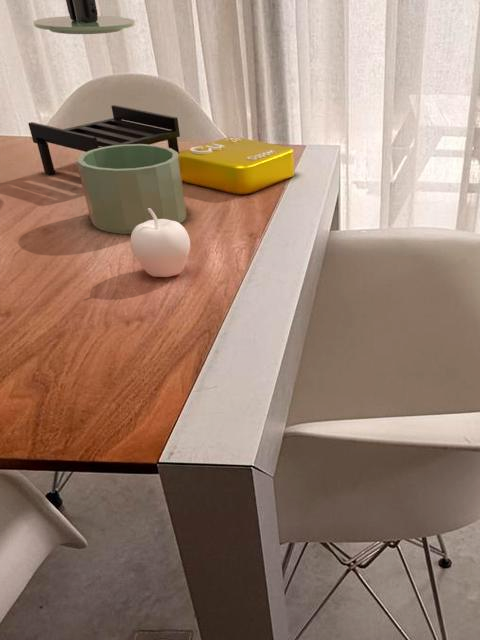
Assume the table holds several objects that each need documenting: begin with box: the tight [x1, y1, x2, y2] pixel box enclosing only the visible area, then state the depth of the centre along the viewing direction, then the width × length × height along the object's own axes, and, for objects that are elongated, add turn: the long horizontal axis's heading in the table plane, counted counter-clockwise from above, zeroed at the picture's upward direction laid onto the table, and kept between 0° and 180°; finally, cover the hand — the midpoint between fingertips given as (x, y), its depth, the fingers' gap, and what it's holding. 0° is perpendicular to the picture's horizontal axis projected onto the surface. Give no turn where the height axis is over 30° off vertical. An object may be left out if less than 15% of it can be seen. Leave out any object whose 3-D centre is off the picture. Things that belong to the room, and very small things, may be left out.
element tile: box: [178, 136, 295, 195], centre depth 116 cm, size 15×15×5 cm
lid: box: [33, 0, 136, 35], centre depth 104 cm, size 15×15×6 cm
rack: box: [27, 104, 181, 176], centre depth 117 cm, size 18×16×8 cm
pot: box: [76, 144, 188, 235], centre depth 99 cm, size 14×14×8 cm
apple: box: [129, 208, 191, 278], centre depth 84 cm, size 7×7×8 cm
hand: (84, 20), depth 105 cm, fingers closed on lid, 2 cm apart
